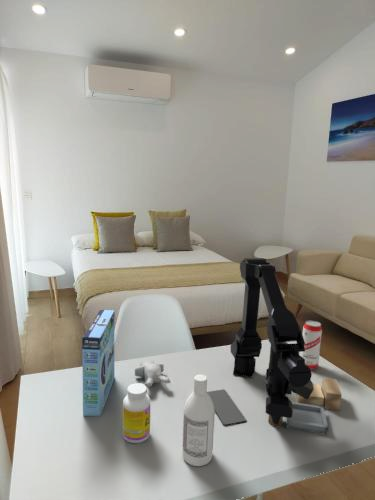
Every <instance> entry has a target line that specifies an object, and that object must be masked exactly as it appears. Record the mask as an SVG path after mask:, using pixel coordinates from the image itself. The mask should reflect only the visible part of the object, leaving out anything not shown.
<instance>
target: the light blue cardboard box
mask: <svg viewBox="0 0 375 500" xmlns="http://www.w3.org/2000/svg"><path fill="white" fill-rule="evenodd" d="M115 312H116V311H115V310H113V309H112V310H111V309H99V310H98V313H97V314H96V315H95V317H94V319H93V320H92V321H91V323H90V325H89V326H88V327H87V329H86V331H85V333H84V334H83V335H82V337H81V338H82V339H81V342H82V343H81V344H82V348H81V349H82V352H81V353H82V362H81V363H82V416H83V417H101V415H102V412H103V410H104V408H105V404H106V402H107V399H108V396H109V394H110V391H111V388H112V385H113V383H114V381H115V377H116V375H115Z"/></svg>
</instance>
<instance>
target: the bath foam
mask: <svg viewBox="0 0 375 500" xmlns="http://www.w3.org/2000/svg"><path fill="white" fill-rule="evenodd" d="M207 390H208V377H207V376H206V375H205V374H196V375H195V376H193V392H191V394H190V395H189V396H188V397H187V399H186V402H185V403H184V406H183V407H184V409H183V422H182V423H183V426H182V427H183V428H182V457H183V460H184V461H185V462H186V463H187V464H189V465H190V466H194V467H202V466H206V465H208V464H209V463H210V462H211V460H212V459H213V450H214V449H213V447H214V432H215V430H214V429H215V414H216V413H215V411H214V405H213V402H212V400H211V398H210V396H209V395H208V393H207V392H208V391H207Z"/></svg>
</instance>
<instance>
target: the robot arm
mask: <svg viewBox="0 0 375 500" xmlns="http://www.w3.org/2000/svg"><path fill="white" fill-rule="evenodd" d="M276 271H277V270H276V267H275V265H274V264H273V263H272V262H270V261H266V259H265V258H263V257H260V258H259V257H256V258H255V257H253V258H252V257H251V258H249V257H247V258H246V257H245V258H244V259H243V260H242V261H241V262H240V263H239V273H240V277H241V280H243V282H244V296H243V305H242V318H241V319H242V320H241V327H239V329H238V330H237V331H236V333H235V339H234V340H233V342H232V343H231V344H230V353H231V355H232V356H233V359H234V364H233V373H232V375H233V376H241V377H245V378H253V377H254V374H255V373H256V360H257V359H256V358H259V357H260V355H261V352H262V348H263V347H262V346H263V345H262V343H263V342H262V338H261V336H260V334H259V332H258V331H257V329H258V317H259V306H260V295H261V293H262V295H263V300H264V303H265V306H266V309H267V313H268V317H267V321H266V333H267V337H268V342H269V343H270V348H269V349H270V351H269V362H268V368H267V369H266V373H265V380H266V381H267V383H266V384H265V390H266V394H267V397H266V398H265V414H266V415H268V416H269V415H271V418H272V421H273V423H274V424H278V423H279V420H280V418H281V417H283V418H286V417H287V418H291V417H292V412H293V409H292V402H293V401H292V400H291V399H290V398H289V397H288V396H287V395H290V396H291V395H292V393H294V394H295V395H296V394H298V395H300V396H302V397H303V398H304V399H309V397H310V395H311V394H312V392H313V390H314V387H313V384H314V383H313V381H312V380H311V379H312V375H313V374H312V370H310V368H309V367H308V366H307V365H306V364H305V359H304V358H303V357H301V356H300V353H301V352H303V351H305V347H304V344H305V341H304V338H303V335H302V334H303V331H302V329H301V326H300V324H299V322H298V320H297V318H296V315H295V314H294V313H293V312H292V311H291V310H290V309H289V308H288V307H287V305H286V303H285V299H284V296H283V294H282V291H281V288H280V285H279V282H278V277H277V275H276V273H277V272H276ZM288 342H296V343H288Z"/></svg>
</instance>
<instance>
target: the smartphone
mask: <svg viewBox="0 0 375 500" xmlns="http://www.w3.org/2000/svg"><path fill="white" fill-rule="evenodd" d="M207 393H208V395H209V396H210V398H211V400H212V402H213V405H214V412H215V414H216V416H217V418H218V420H219V421H220V422H221V424H222V426H223V427H229V426H233V425H237V424H238V425H240V424H244V423H247V422H248V421H247V419H246V416H244V415H243V413H242V411H241V410H240V409H239V407H238V406H237V405H236V403H235V402H234V400H233V399H232V398H231V396H230V395H229V393H228V392H227V390H226V389H223V388H222V389H218V390H212V391H211V390H210V391H207Z"/></svg>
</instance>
